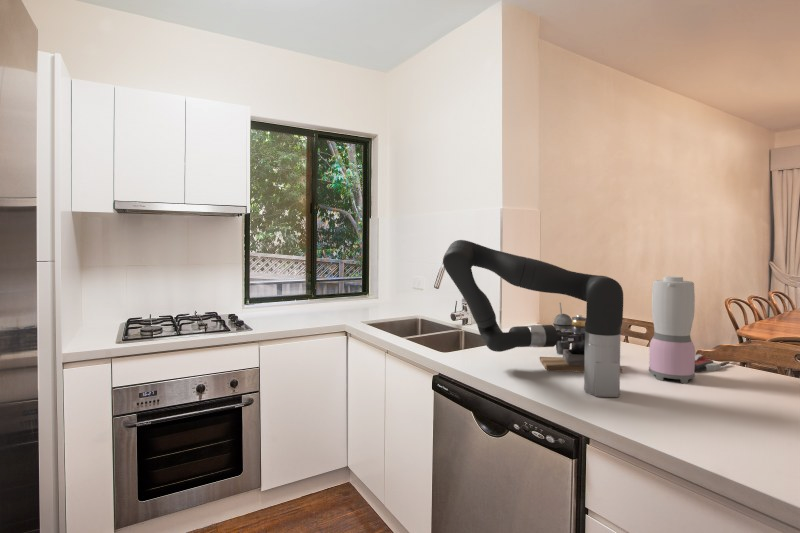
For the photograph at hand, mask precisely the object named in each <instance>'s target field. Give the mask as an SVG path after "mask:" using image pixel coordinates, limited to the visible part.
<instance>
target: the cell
mask: <svg viewBox="0 0 800 533" xmlns="http://www.w3.org/2000/svg"><path fill="white" fill-rule="evenodd" d="M571 319H572V332H574V333H585V321H586V317H585V316H583V315H581V314H580V315H578V314H576V316H572V318H571ZM570 349H571V354H581V355H585V340H582V342H578V343H571V348H570Z"/></svg>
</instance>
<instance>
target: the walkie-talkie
mask: <svg viewBox="0 0 800 533" xmlns="http://www.w3.org/2000/svg"><path fill="white" fill-rule="evenodd" d="M729 364H731V361H724V362H721V363H717V362H714V360H712V359H710V358H706V355H704V354H700V353H699V354H698V353H695V368H694V373H700V372H704V371H706V372H716V371H720V370H721V368H722V367H725V366H727V365H729Z"/></svg>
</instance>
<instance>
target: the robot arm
mask: <svg viewBox="0 0 800 533" xmlns="http://www.w3.org/2000/svg"><path fill="white" fill-rule="evenodd" d="M442 264H443V268H444V269H445V272H446V273H447V274H448V275H449V278H450V279H451V280H452V282H453V283H454V285H455V286H456V287H457V289H458V291H459V292H460V295H461V296H462V298H463V299H464V300H465V302H466V305H467V307H468V308H469V312H470V313H471V315H472V317H473V319H474V322H475V324H476V326H477V329H478V332H479V335H480V337H481V339H482V341H483V343H484V344H485V345H486V347H487V349H489V350H490V351H493V352H497V353H500V352H507V351H508V350H513V349H516V348H554V347H556V343H557V342H558V341H560V342H568V343H569V344H570V345H571V344H572V343H578V342H582V340H585V356H584V372H583V377H584V378H583V379H584V380H583V381H584V382H583V389H584V391H585V392H586V393H588V394H590V395H592V396H595V397H600V398H601V397H603V398H620V394H621V388H620V386H621V373H620V367H621V335H622V332H621V329H622V326H623V320H624V319H623V318H624V291H623V288H622V285H621V284H620V283H619V282H618V281H617V280H616V279H614V278H612V277H609V276H607V275H597V274H588V273H582V272H576V271H572V270H568V269H565V268H563V267H560V266H557V265H554V264H552V263H548V262H545V261H542V260H539V259H534V258H530V257H526V256H521V255H517V254H512V253H508V252H506V251H501V250H496V249H492V248H490V247H488V246H483V245H480V244H479V243H475V242H474V241H473V242H472V241H470V240H465V239H459V240H454V241H453V242H452V243H451V244H450V245H449V246H448V248H447V250H446V252H445V253H444V255H443V258H442ZM472 267H477V268H482V269H485V270H488V271H490V272H492V273H494V274H496V275H497V276H498V277H500V278H501V279H502V280H504V281H505V282H507V283H509V284H510V285H512V286H514V287H517V288H522V289H525V290H528V291H534V292H539V293H540V292H541V293H545V294H546V293H549V294H558V295H564V296H568V297H571V298H574V299H577V300H581V301H584V302H586V311H585V312H586V313H585V314H586V317H585V318H586V321H585V333H574V332H572V330H570V329H569V330H567V329H566V328H565V329H557V328H555V327H554V324H537V325H536V324H533V325H527V326H526V325H520V326H519V325H518V326H512V327H510V328H509V329H508V330H509V331H507V332H503V331H502V329H501V328H500V326H499V324H498V322H497V316H496V313H495V310H494V308H493V306H492V303H491V301H490V299H489V298H488V296H487V294H486V293H485V292H483V290H482V289H480V287H479V286H478V284H477V283H476V281H475V278H474V275H473V271H472Z"/></svg>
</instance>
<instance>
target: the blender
mask: <svg viewBox="0 0 800 533" xmlns="http://www.w3.org/2000/svg"><path fill="white" fill-rule="evenodd" d="M651 290H652V291H651V292H652V293H651V316H652V317H651V318H652V323H653V329H654V333H653V337H652V338H651V340H650V343H649V348H648V349H649V350H648V351H649V353H648V354H649V355H648V357H649V358H648V359H649V361H648V364H649V366H648V372H649V374H652V375H655V379H656V380H658V381H664V380H665V378H666V379H672V380H679V382H680V383H681V384H688V383H689V380H691V379H692V380H693V379H694V378H695V376H696V375H695V374H696V372H694V368H695V355H696V349H695V345H694V344H695V343H694V342H693V341H692V338H691V331H692V328H693V322H694V316H695V307H696V306H695V302H696V299H695V298H696V296H695V282H694V281H691V280H684V276H671V275H670V276H666V275H665V276H663V279H655V280H654V281H653V282H652V289H651Z"/></svg>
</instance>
